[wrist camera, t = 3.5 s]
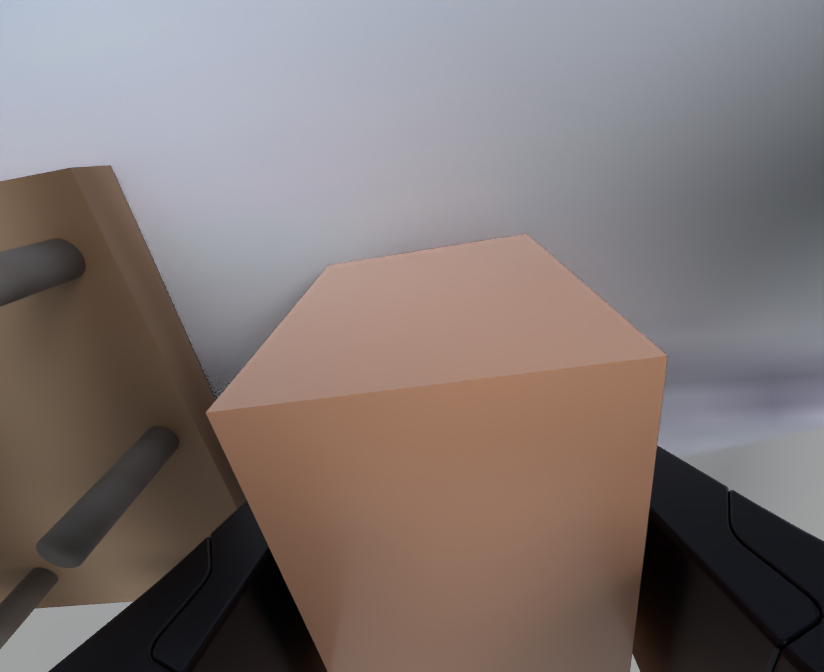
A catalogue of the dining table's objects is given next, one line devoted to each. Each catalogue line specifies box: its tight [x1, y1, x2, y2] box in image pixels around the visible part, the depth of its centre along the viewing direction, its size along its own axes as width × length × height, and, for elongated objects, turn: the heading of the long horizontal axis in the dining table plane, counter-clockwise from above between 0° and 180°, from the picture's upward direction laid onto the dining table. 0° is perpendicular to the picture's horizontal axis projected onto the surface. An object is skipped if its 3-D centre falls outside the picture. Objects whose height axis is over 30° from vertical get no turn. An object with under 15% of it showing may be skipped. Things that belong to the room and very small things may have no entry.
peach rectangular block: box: [206, 234, 668, 672], centre depth 7 cm, size 4×7×5 cm, turn 10°
